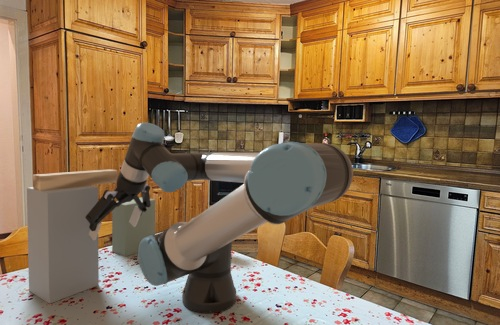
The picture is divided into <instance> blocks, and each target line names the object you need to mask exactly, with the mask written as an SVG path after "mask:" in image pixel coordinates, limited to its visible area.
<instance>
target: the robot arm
mask: <svg viewBox="0 0 500 325" xmlns="http://www.w3.org/2000/svg"><path fill="white" fill-rule="evenodd" d="M164 140H165V131H164V130H163V129H162V128H161V127H160V126H158V125H156V124H154V123H150V122H141V123H138V124H137V125H136V127H135V129H134V130H133V133H132V135H131V138H130V142H129V144H128V148H127V149H126V150H127V151H126V153H125V157H124V160H123V162H122V165H121V167H120V170H119V174H118V175H117V183H116V187H115V189H114V190H113V191H110V190H109V189H105V190H104V192H103V194H102V196H101V197H100V198H99V199H98V202H97V203H96V205H95V206H94V207H93V208H92V209H91V211H90V212H89V213H88V214H87V215H86V217H85V218H86V219H87V220H88V222H89V223H90V226H89V228H90V231H89V235H90V237H91V238H92V239H93V241H94V240H96V238H97V235H98V236H99V232H100V229H101V227H102V223H103V222H101V221H103V220H104V219H105V218H106V217H107V216H108V215H110V213H112V210H113V209H114V208H116V207H119V206H120V205H121V204H122V203H125V202H130V201H131V200H133V199H134V201H135V202H136V204H137V205H138V206H135V208H134V210H133V213H132V215H131V218H130V220H129V222H130V223H131V224H132V226H133V227H136V225H137V222H138V220H139V217H140V216H141V215H142V212H146V211H147V209H146V207H150V206H151V204H150V199H151V197H150V196H151V195H150V191H151V186H150V185H149V184H148V183H147V181H148V179H149V177H150V178H151V179H152V181H153V183H154V184H155V185H157V186H158V187H159V189H161V190H162V191H163V192H165V193H174V192H176V191H177V190H180V189H182V188H183V187H184V185H185V184H186V183H187V182H192V181H217V182H218V181H219V182H228V183H231V182H232V183H243V184H241V185H239V187H236V188H235V189H234V190H233V191H231V192H230V193H229V194H227V195H226V196H224V197H222V198H221V199H220V200H219V201H217V202H215V203H214V204H212V205H211V206H209V207H208V208H207V209H205V210H204V211H202V212H201V213H200V214H198V215H196V216H195V217H192V218H191V219H190V220H189V221H188V222H187V221H179V222H175V223H174V224H172V225H170V226H168V228H166V229H165V230H163V231H161V232H160V233H157V234H156V233H155V235H149V236H148V237H145V238H144V239H142V241H141V242H140V245H139V249H138V252H137V253H138V254H137V255H138V256H137V258H138V263H139V267H140V270H141V273H142V275H143V278H145V280H146V281H147V282H148V283H149V284H150V285H151V286H154V287H155V286H156V287H158V286H161V285H167V283H170V282H172V281H175V280H178V279H180V278H183V277H185V276H187V278H186V281H185V284H184V288H183V290H182V297H181V298H182V299H181V300H182V301H181V302H182V304H183V305H184V306H185V308H186V309H188V310H190V311H194V312H195V313H196V312H197V313H202V314H203V313H205V314H212V313H214V314H215V313H220V312H223V311H226V310H228V309H230V308H232V307H233V306H234V304H236V301H237V290H236V289H237V288H236V287H235V283H234V279H233V275H232V270H231V269H232V251H233V250H232V249H233V246H232V245H233V241H235V240H237V239H239V238H240V237H243V236H244V235H247V234H248V233H250V232H252V231H254V230H256V229H258V228H259V227H261V226H263V225H264V224H266V223H269V224H272V225H281V224H284V223H286V222H288V221H289V220H291V219H293V218H295V217H298V216H299V215H301V214H302V213H303V214H304V213H305V212H308V211H309V210H312V209H313V208H317V207H320V206H323V205H326V204H329V203H332V202H335V201H338V200H339V199H341V198H342V197H343V196H344V195H346V193H347V192H348V190H349V189H350V187H351V185H352V182H353V178H354V168H353V165H352V161H351V159H350V158H349V156H348V154H346V153H345V151H344V150H343V149H341V148H340V147H338V146H336V145H334V144H331V143H327V142H324V143H323V142H317V143H315V142H313V143H312V142H310V143H309V142H308V143H306V142H304V143H303V142H297V141H296V142H295V141H285V142H283V141H282V142H281V143H275V144H272V145H270V146H268V147H265V148H264V149H263V150H261V151H260V152H210V151H209V152H207V151H206V152H187V153H185V152H184V153H183V152H182V153H179V152H178V153H172V152H170V151H169V149H167V148H166V147H165V144H163V142H164ZM140 193H141V197H142V199H143V203H142V202H141V201H140V199H139V198H140V197H139V196H138V195H139V194H140ZM115 198H116V200H115ZM116 201H118V202H116Z"/></svg>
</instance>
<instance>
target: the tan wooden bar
mask: <svg viewBox="0 0 500 325" xmlns="http://www.w3.org/2000/svg"><path fill="white" fill-rule="evenodd" d="M117 179H118V170H117V169H112V168H110V169H95V170H94V169H93V170H81V171H79V170H78V171H69V172H52V173H42V174H41V173H40V174H37V173H36V174H33V175H32V187H33V189H34V190H38V191H45V190H54V189H63V188H72V187H81V186H97V185H98V186H99V185H106V184H107V185H108V184H117Z"/></svg>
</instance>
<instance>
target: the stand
mask: <svg viewBox="0 0 500 325" xmlns="http://www.w3.org/2000/svg"><path fill="white" fill-rule="evenodd" d="M98 201H99V187H98V186H97V185H91V186H81V187H72V188H63V189H54V190H45V191H38V190H34V189H33V186H30V187H26V208H27V209H26V210H27V211H26V215H27V253H28V254H27V260H28V261H27V262H28V263H27V264H28V291H29V292H30V293H31V294H33V295H35V296H36V297H38V298H40V299H42V301H44V302H46V303H48V304H53V303H55V302H58V301H61V300H63V299H66V298H69V297H71V296H73V295H74V296H75V295H76V294H77V295H78V294H79V293H82V292H84V291H87V290H90V289H92V288H95V287H97V286H99V285H100V284H99V282H100V281H99V280H100V279H99V276H100V275H99V272H100V271H99V269H100V268H99V267H100V266H99V262H100V260H99V234H98V235H97V238H96V240H94V241H93V239H92V238H91V237H90V235H89V231H90V228H89V226H90V223H89V222H88V220H87V219H86V218H85V217H86V215H87V214H88V213H89V212H90V211H91V209H92V208H93V207H94V206H95V205H96V203H97V202H98Z"/></svg>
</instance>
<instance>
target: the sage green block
mask: <svg viewBox="0 0 500 325" xmlns="http://www.w3.org/2000/svg"><path fill="white" fill-rule="evenodd" d="M139 199H140V201H141V202H142V203H143V199H142V196H141V197H139ZM115 201H116V202H118V200H115ZM150 204H151V206H150V207H146V209H147V211H146V212H142V215H141V216H140V217H139V220H138V222H137V225H136V227H133V226H132V224H131V223H130V222H129V220H130V218H131V215H132V213H133V210H134V208H135V206H138V205H137V204H136V202H135V201H134V199H133V200H131V201H130V202H125V203H122V204H121V205H120V206H119V207H116V208H114V209H113V210H112V211H111V216H112V217H111V218H112V220H111V224H112V225H111V226H112V228H111V232H112V233H111V236H112V237H111V240H112V241H111V243H112V244H111V246H112V247H111V250H112V253H115V254H117V255H120V256H123V257H128V256H131V255H134V254H137V253H138V249H139V245H140V242H141V241H142V239H144V238H145V237H148V236H149V235H156V199H155V198H154V199H153V198H150Z"/></svg>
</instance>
